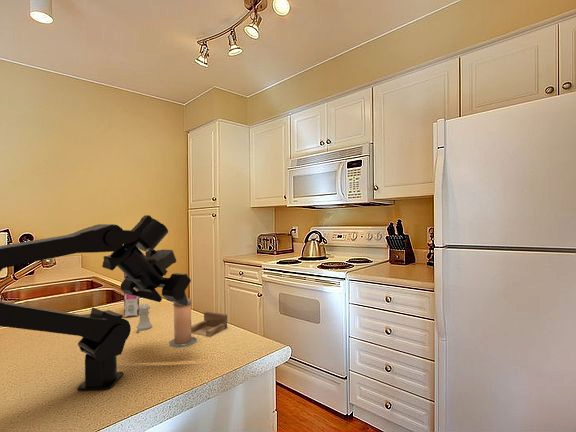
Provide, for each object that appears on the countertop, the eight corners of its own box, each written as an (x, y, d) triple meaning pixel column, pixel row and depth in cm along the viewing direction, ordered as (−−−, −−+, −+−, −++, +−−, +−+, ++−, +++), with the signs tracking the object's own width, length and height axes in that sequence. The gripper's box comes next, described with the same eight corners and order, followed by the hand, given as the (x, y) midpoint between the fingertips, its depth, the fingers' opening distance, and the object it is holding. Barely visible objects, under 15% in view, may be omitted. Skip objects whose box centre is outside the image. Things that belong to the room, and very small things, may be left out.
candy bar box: (139, 316, 114) (139, 269, 114) (123, 318, 112) (123, 270, 112) (139, 308, 124) (139, 265, 124) (125, 310, 122) (124, 266, 122)
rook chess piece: (146, 334, 96) (146, 307, 96) (133, 333, 97) (132, 306, 97) (155, 329, 100) (155, 303, 100) (142, 328, 101) (142, 302, 101)
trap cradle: (209, 340, 90) (209, 322, 90) (188, 335, 94) (187, 318, 94) (227, 331, 97) (227, 314, 97) (206, 327, 101) (206, 311, 101)
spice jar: (189, 344, 85) (188, 302, 85) (171, 344, 84) (171, 302, 85) (193, 337, 89) (193, 297, 89) (176, 338, 89) (176, 298, 89)
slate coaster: (193, 350, 84) (193, 345, 84) (165, 351, 83) (165, 346, 83) (199, 340, 91) (199, 335, 91) (173, 341, 90) (173, 336, 90)
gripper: (184, 240, 75) (215, 279, 85) (130, 238, 84) (164, 274, 94) (157, 279, 68) (195, 317, 78) (101, 274, 77) (141, 308, 86)
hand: (173, 302), depth 84 cm, fingers open, 9 cm apart
